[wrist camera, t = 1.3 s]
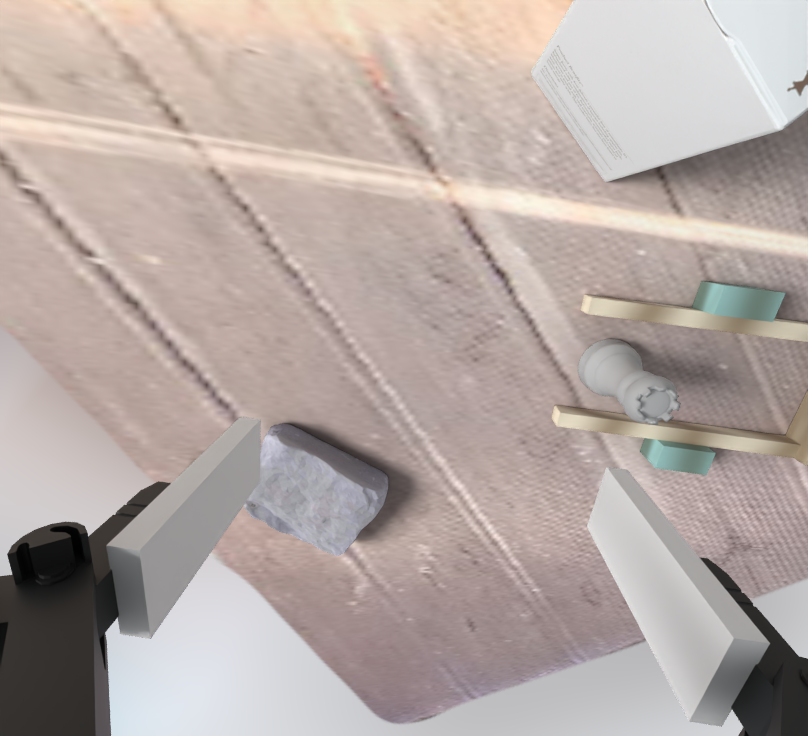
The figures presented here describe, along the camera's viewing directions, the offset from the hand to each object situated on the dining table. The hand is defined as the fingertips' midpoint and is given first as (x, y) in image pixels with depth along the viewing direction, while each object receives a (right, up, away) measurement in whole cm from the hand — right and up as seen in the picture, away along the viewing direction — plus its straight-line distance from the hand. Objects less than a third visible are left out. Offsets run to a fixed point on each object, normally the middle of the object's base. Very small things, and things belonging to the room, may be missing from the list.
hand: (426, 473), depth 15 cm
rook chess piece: (+15, +4, +17) cm, 23 cm away
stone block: (-9, -7, +23) cm, 25 cm away
